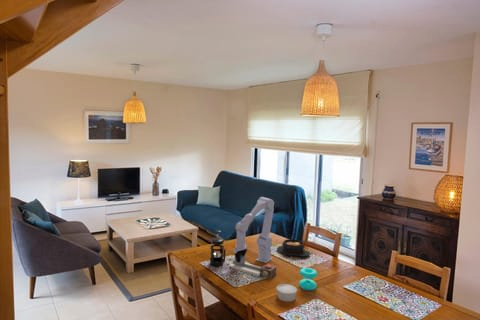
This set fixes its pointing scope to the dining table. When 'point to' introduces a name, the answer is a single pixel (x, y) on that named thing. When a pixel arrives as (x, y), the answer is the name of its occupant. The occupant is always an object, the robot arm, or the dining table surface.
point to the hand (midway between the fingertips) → (240, 260)
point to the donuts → (308, 279)
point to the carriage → (241, 260)
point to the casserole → (293, 248)
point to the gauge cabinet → (267, 272)
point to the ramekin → (286, 292)
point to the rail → (247, 268)
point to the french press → (217, 258)
